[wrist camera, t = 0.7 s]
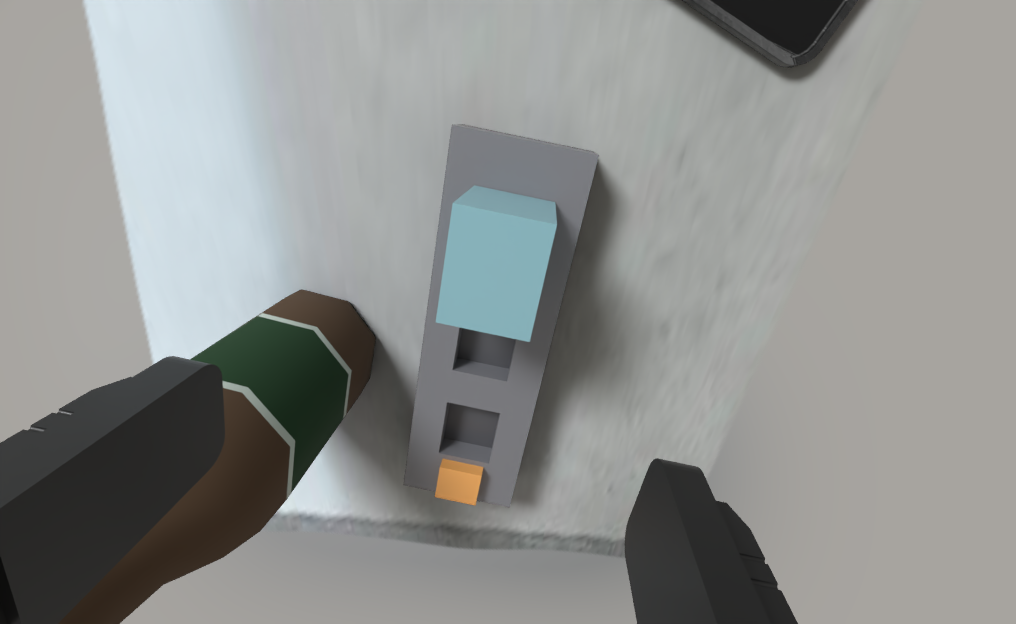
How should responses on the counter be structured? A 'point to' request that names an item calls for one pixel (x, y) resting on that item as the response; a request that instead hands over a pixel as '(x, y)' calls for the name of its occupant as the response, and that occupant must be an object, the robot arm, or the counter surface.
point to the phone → (778, 25)
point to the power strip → (482, 356)
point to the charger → (496, 262)
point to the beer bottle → (250, 442)
